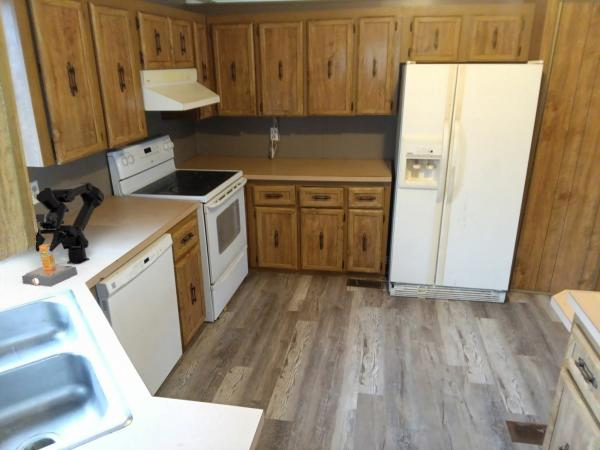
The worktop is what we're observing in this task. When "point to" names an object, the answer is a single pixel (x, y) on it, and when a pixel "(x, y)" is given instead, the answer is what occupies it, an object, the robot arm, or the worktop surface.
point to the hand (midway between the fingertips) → (43, 251)
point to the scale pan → (48, 274)
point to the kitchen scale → (49, 281)
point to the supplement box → (47, 257)
